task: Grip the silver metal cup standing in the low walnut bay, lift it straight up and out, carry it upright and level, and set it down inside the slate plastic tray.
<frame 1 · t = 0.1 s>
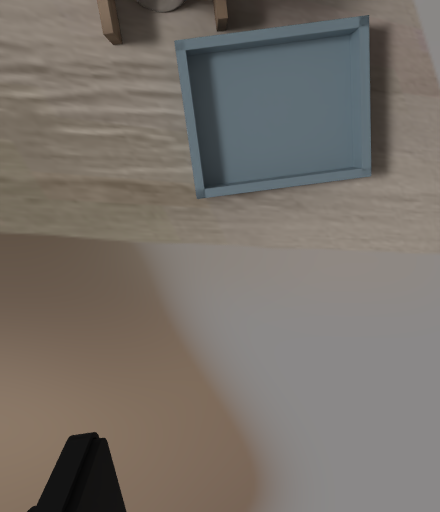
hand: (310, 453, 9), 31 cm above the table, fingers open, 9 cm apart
slate tray: (272, 114, 36), on the table
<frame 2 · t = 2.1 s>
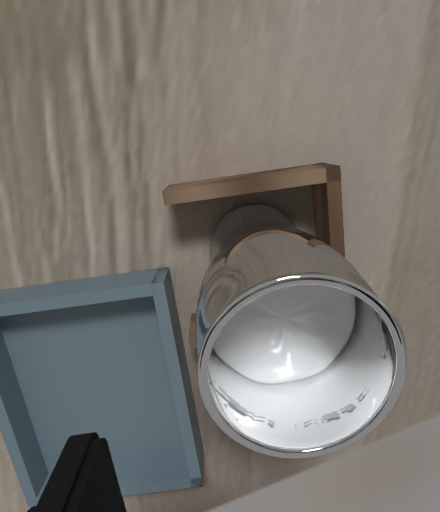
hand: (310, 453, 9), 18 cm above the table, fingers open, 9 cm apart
silver metal cup: (254, 247, 27), on the table
walnut bay: (254, 248, 26), on the table
slate tray: (102, 379, 29), on the table
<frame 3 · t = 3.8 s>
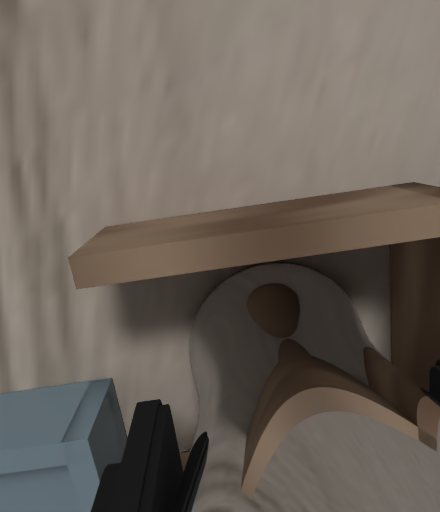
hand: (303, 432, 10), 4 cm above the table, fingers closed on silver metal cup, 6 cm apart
silver metal cup: (273, 339, 14), on the table, touching gripper
walnut bay: (274, 342, 14), on the table
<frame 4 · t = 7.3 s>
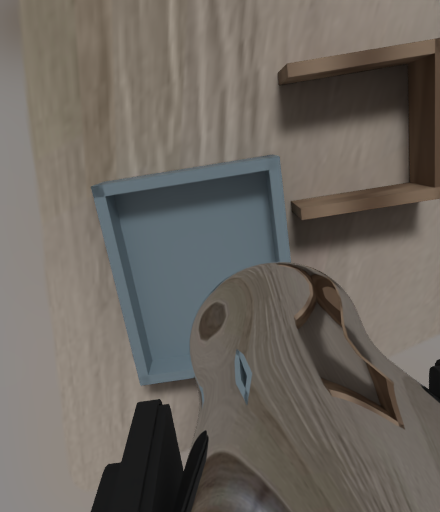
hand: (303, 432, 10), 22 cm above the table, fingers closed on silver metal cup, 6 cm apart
silver metal cup: (273, 338, 14), point 17 cm above the table, touching gripper
walnut bay: (352, 134, 29), on the table
slate tray: (204, 267, 31), on the table
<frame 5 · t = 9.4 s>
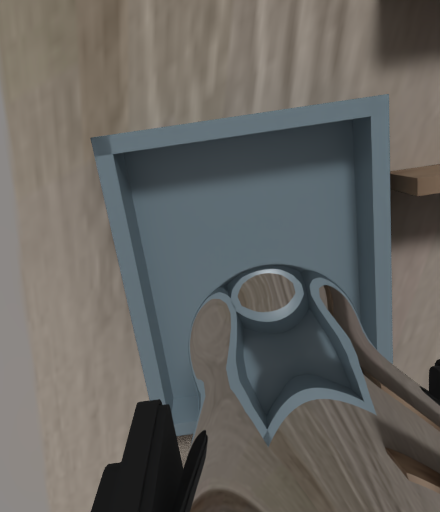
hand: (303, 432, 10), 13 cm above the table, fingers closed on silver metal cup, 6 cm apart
silver metal cup: (272, 339, 14), point 8 cm above the table, touching gripper
slate tray: (252, 268, 22), on the table
when the fingers open (7 cm above the table, at t = 11.0 s): silver metal cup drops 1 cm, resting on slate tray.
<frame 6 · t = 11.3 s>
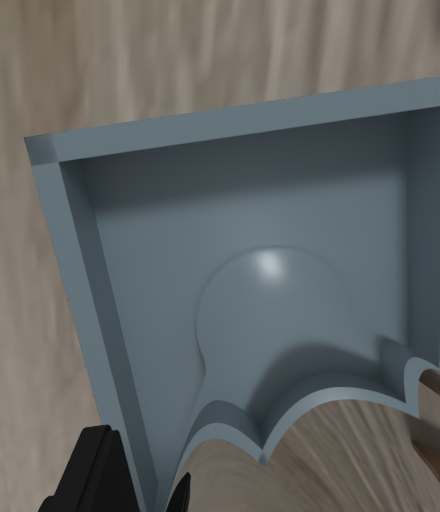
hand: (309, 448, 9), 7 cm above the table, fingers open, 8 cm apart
silver metal cup: (271, 317, 16), point 1 cm above the table, touching slate tray
slate tray: (263, 314, 16), on the table
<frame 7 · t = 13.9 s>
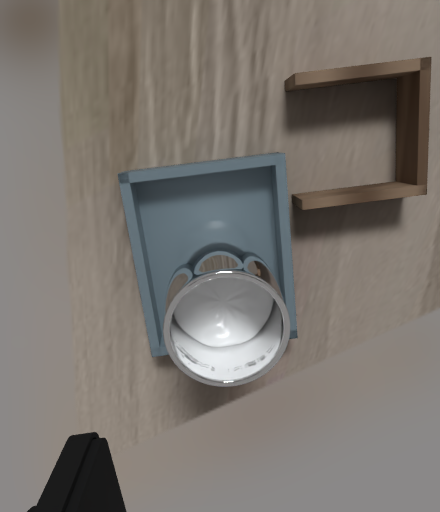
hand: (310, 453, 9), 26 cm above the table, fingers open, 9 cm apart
silver metal cup: (215, 252, 34), point 1 cm above the table, touching slate tray
walnut bay: (347, 137, 33), on the table
slate tray: (212, 252, 35), on the table
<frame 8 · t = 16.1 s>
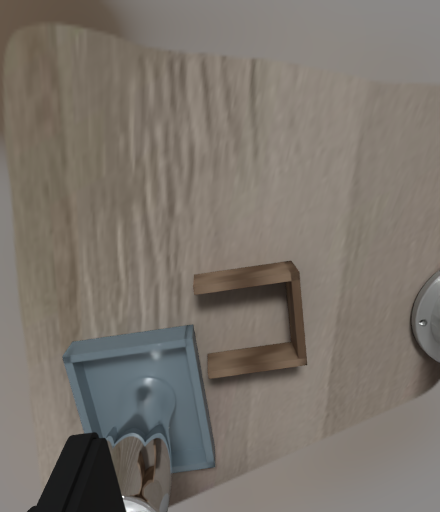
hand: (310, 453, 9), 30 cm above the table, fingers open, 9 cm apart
silver metal cup: (148, 399, 43), point 1 cm above the table, touching slate tray
walnut bay: (248, 312, 41), on the table
slate tray: (147, 396, 43), on the table
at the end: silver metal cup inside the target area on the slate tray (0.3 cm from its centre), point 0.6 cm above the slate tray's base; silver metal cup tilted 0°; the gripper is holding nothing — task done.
